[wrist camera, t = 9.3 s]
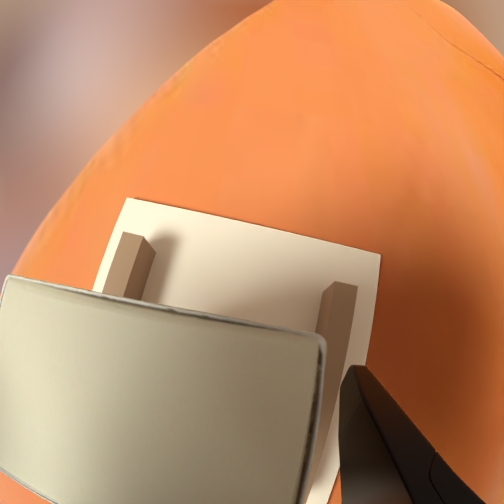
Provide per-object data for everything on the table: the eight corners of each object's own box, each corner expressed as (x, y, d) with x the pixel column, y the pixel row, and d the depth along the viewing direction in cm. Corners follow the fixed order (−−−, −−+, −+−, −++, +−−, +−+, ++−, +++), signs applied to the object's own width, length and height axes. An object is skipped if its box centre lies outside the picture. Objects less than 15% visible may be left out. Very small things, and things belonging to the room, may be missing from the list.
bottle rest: (310, 535, 12) (321, 560, 10) (60, 462, 13) (34, 474, 10) (377, 257, 18) (398, 239, 15) (130, 201, 19) (113, 176, 16)
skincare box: (276, 351, 16) (355, 328, 4) (264, 429, 14) (306, 570, 3) (156, 330, 16) (-2, 261, 5) (144, 407, 15) (-22, 463, 3)
